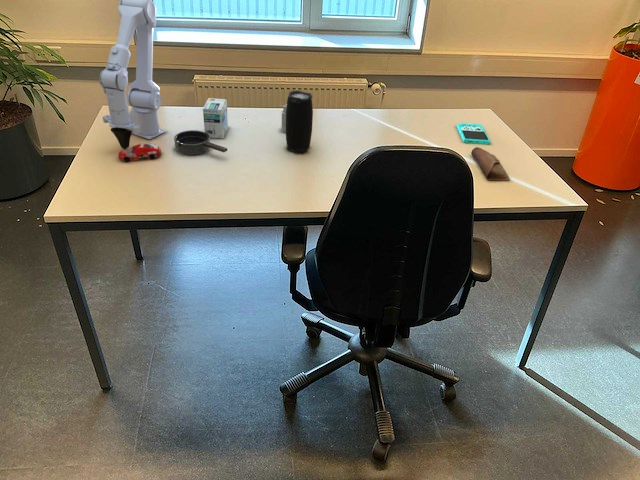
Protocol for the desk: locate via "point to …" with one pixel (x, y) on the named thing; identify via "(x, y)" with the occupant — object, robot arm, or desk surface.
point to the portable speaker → (299, 121)
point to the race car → (140, 152)
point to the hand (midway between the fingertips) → (125, 147)
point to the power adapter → (284, 118)
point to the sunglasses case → (489, 165)
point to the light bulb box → (215, 117)
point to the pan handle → (215, 147)
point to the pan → (191, 142)
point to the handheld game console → (473, 133)
